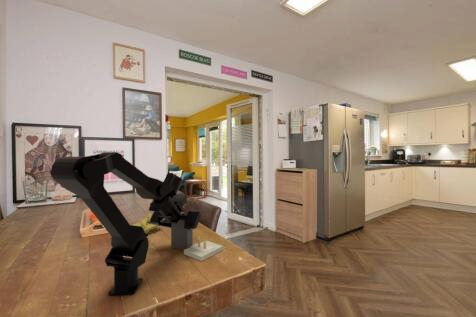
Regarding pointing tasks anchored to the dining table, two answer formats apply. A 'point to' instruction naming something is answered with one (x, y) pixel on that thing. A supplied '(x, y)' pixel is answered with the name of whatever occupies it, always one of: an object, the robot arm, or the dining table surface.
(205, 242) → the board
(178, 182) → the robot arm
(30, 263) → the dining table surface
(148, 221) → the plastic component
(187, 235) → the block
